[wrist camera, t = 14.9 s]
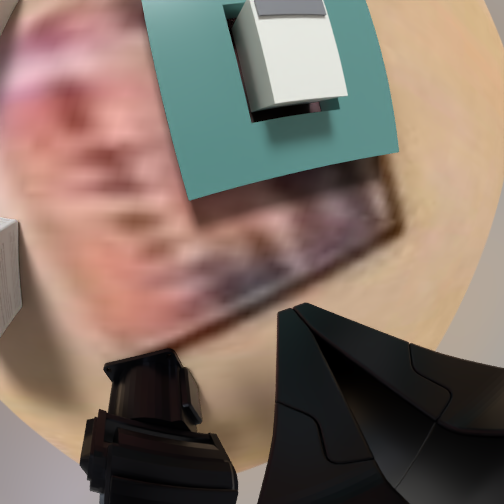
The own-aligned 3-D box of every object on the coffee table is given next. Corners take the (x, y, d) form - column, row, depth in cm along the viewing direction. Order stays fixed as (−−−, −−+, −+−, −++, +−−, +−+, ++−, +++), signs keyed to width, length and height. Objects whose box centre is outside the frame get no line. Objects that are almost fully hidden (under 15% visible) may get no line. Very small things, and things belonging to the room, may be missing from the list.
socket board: (187, 192, 18) (188, 200, 15) (142, -3, 12) (138, -20, 10) (377, 149, 19) (399, 151, 17) (337, -18, 14) (353, -30, 11)
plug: (250, 112, 17) (276, 103, 12) (231, 29, 14) (249, -6, 10) (308, 103, 17) (349, 95, 13) (289, 24, 15) (323, -5, 10)
